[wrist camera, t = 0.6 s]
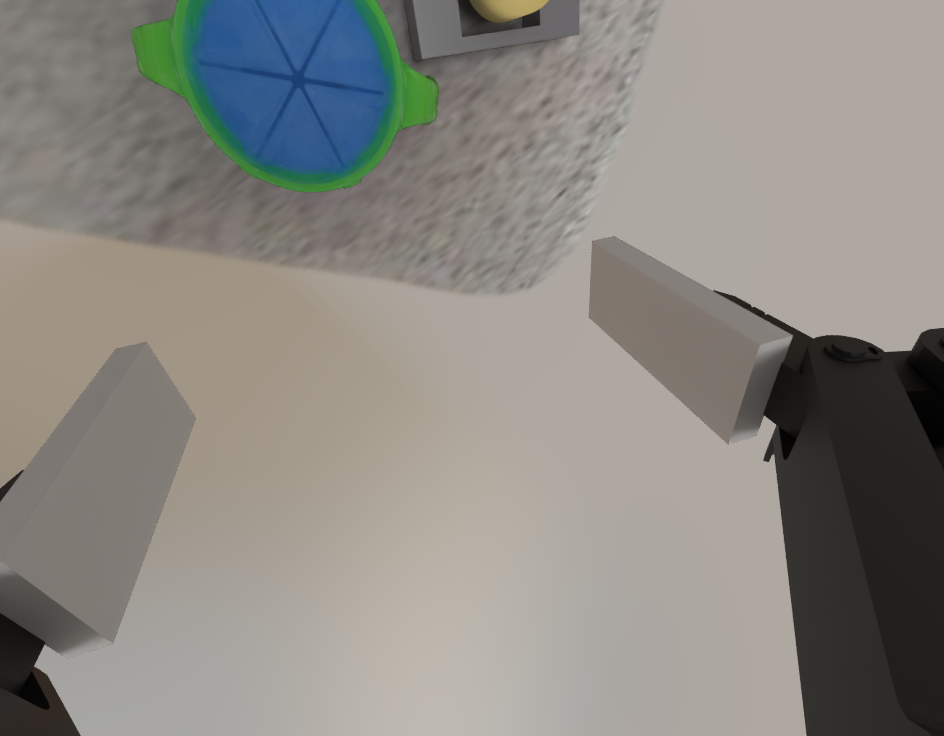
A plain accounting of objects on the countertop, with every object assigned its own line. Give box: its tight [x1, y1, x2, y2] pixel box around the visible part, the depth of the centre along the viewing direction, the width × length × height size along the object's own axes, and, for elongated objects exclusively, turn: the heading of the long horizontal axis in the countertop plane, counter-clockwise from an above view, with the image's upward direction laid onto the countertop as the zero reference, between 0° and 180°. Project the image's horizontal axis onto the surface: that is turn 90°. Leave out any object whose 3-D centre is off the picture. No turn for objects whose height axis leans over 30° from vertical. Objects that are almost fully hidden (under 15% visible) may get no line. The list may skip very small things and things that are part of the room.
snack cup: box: [131, 0, 439, 192], centre depth 25 cm, size 16×11×10 cm
